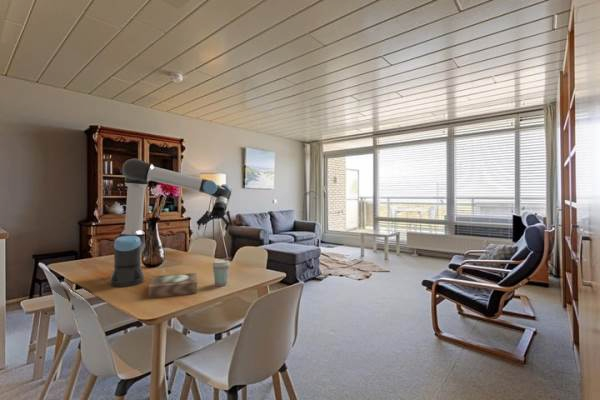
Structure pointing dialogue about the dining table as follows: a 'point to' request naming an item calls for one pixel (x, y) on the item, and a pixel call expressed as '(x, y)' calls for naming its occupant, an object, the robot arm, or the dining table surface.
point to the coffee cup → (221, 272)
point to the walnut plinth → (173, 285)
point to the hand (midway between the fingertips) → (210, 234)
